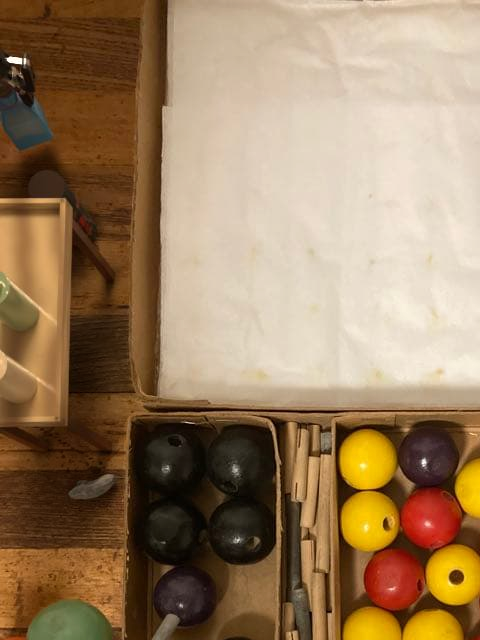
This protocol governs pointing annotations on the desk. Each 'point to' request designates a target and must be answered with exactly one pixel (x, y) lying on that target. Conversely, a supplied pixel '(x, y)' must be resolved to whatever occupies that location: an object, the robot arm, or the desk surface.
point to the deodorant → (56, 187)
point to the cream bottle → (15, 381)
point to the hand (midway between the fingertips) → (11, 102)
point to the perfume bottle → (22, 120)
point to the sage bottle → (16, 306)
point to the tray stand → (43, 312)
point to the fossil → (92, 487)
